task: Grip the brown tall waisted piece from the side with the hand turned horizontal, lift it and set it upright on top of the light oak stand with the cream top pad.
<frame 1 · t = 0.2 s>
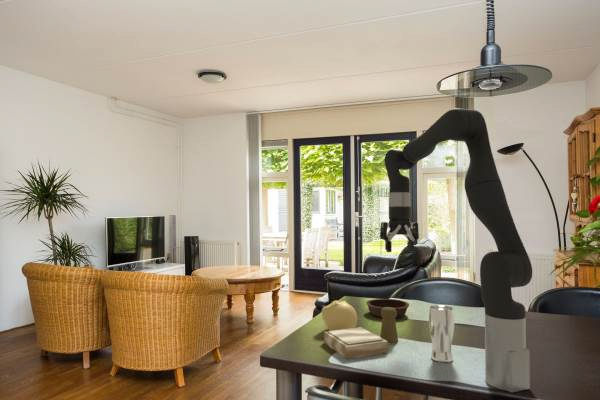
hand: (399, 252, 148), 29 cm above the table, tool pointing down, fingers open, 8 cm apart
brown tall waisted piece: (388, 341, 140), on the table
sculpture: (340, 331, 151), on the table
wooden stand: (354, 347, 133), on the table
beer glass: (441, 359, 123), on the table
dish: (387, 315, 175), on the table
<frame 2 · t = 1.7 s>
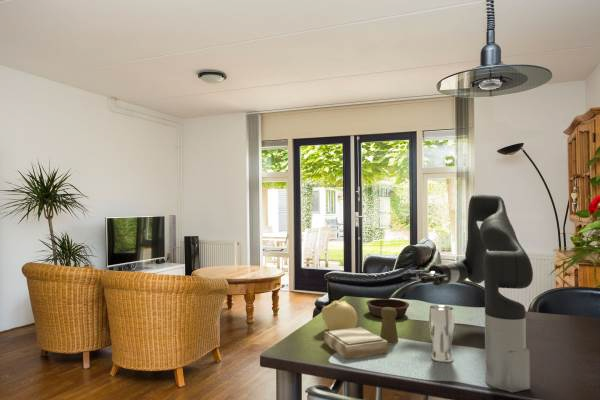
hand: (412, 278, 146), 20 cm above the table, tool horizontal, fingers open, 8 cm apart
nothing on the table moved.
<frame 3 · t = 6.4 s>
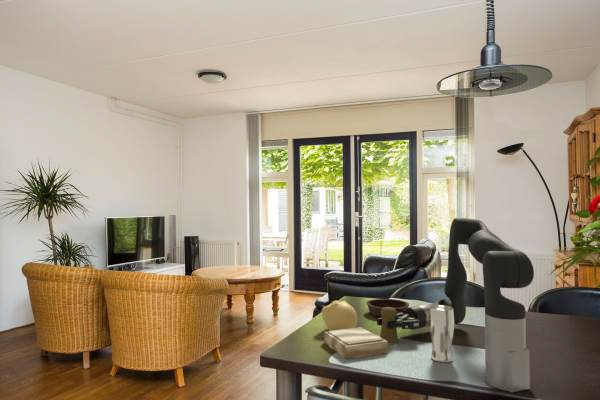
hand: (382, 323, 139), 6 cm above the table, tool horizontal, fingers closed on brown tall waisted piece, 4 cm apart
brown tall waisted piece: (388, 341, 140), on the table, touching gripper
everything else where it was.
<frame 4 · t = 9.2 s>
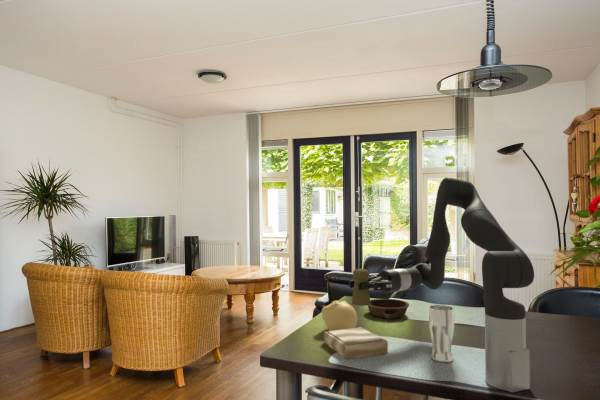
hand: (354, 285, 134), 20 cm above the table, tool horizontal, fingers closed on brown tall waisted piece, 4 cm apart
brown tall waisted piece: (361, 304, 135), point 13 cm above the table, touching gripper
everything else where it was.
when the fingers open (10 cm above the table, at t = 12.4 s): brown tall waisted piece stays where it is, resting on wooden stand.
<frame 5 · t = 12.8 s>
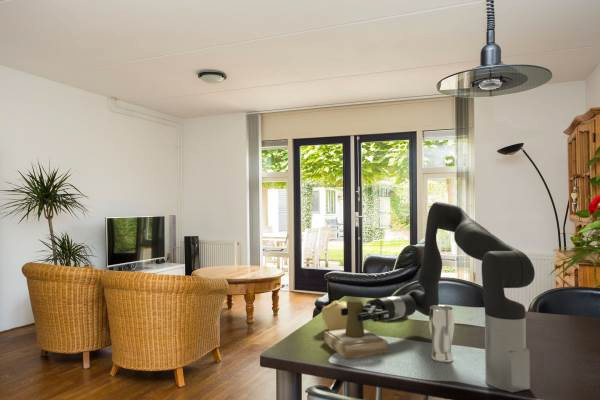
hand: (349, 314, 132), 11 cm above the table, tool horizontal, fingers open, 7 cm apart
brown tall waisted piece: (354, 335, 133), point 4 cm above the table, touching wooden stand
everything else where it was.
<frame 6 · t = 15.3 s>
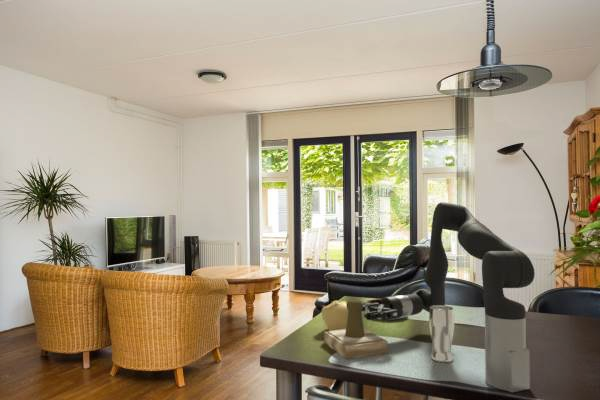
hand: (358, 313, 134), 11 cm above the table, tool horizontal, fingers open, 8 cm apart
nothing on the table moved.
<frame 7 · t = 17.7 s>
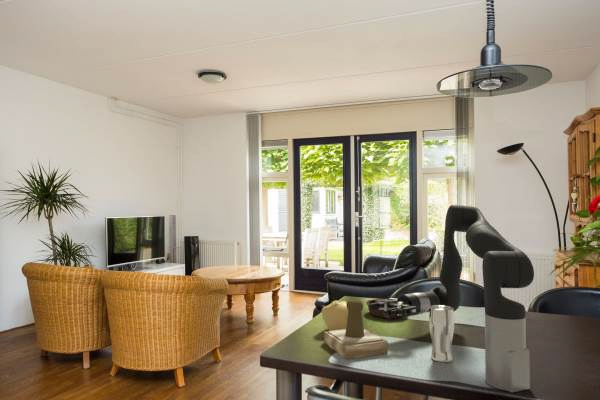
hand: (378, 310, 139), 11 cm above the table, tool horizontal, fingers open, 8 cm apart
nothing on the table moved.
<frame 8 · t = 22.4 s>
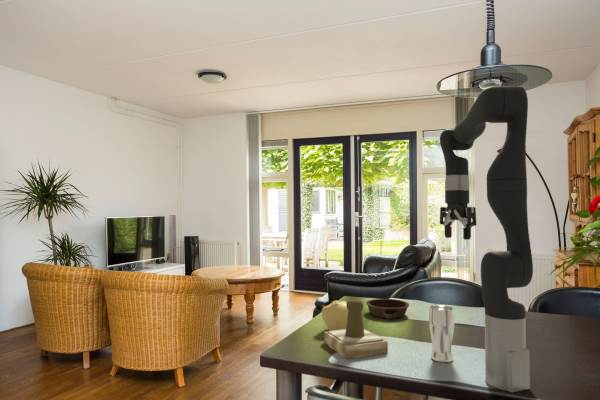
hand: (457, 238, 139), 34 cm above the table, tool pointing down, fingers open, 8 cm apart
nothing on the table moved.
at the end: brown tall waisted piece inside the target area on the wooden stand (0.1 cm from its centre), point 3.8 cm above the wooden stand's base; brown tall waisted piece tilted 0°; the gripper is holding nothing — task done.
